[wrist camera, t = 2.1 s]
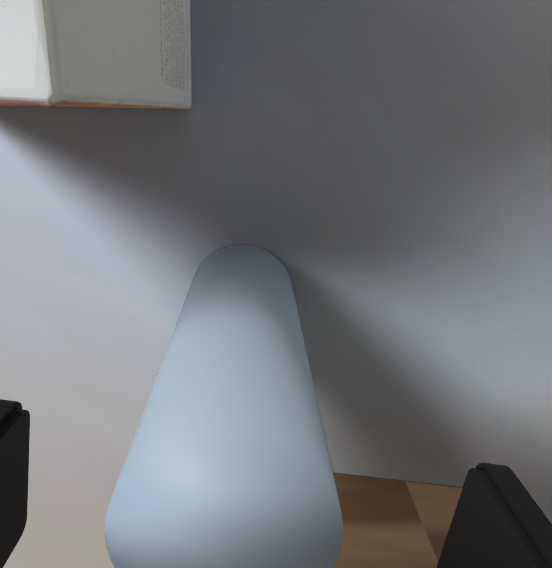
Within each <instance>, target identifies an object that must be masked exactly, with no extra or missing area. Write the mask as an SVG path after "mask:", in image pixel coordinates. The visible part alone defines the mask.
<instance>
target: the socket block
mask: <svg viewBox="0 0 552 568" xmlns="http://www.w3.org/2000/svg"><path fill="white" fill-rule="evenodd" d="M333 476H334V480H335V485H336V490H337V494H338V499H339V503H340V508H341V513H342V520H343V538H342V543H341V548H340V551H339V554H338V556H337V559H336V561H335V563H334V565H333V567H332V568H437V564H438V561H439V558H440V555H441V552H442V549H443V546H444V543H445V540H446V537H447V534H448V531H449V528H450V525H451V522H452V519H453V516H454V513H455V510H456V507H457V503H458V500H459V497H460V494H461V491H462V488H459V487H450V486H442V485H433V484H424V483H415V482H407V481H398V480H389V479H380V478H371V477H363V476H354V475H345V474H336V473H333Z"/></svg>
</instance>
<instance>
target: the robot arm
mask: <svg viewBox="0 0 552 568" xmlns="http://www.w3.org/2000/svg"><path fill="white" fill-rule="evenodd" d="M29 430H30V414H29V411H27V410H22V406H21V403H19V402H16V401H8V400H1V399H0V568H3V566H4V565H5V563H6V561H7V560H8V558H9V556H10V554H11V553H12V551H13V549H14V548H15V546H16V544H17V543H18V541H19V539H20V538H21V536H22V533H23V531H24V528H25V525H26V520H27V498H28V464H29ZM437 568H552V524H551V523H550V521H549V520H548V519H547V517H546V516H545V515H544V513H543V512H542V510H541V509H540V508H539V506H538V505H537V504H536V502H535V501H534V500H533V498H532V497H531V496H530V494H529V493H528V491H527V490H526V489H525V487H524V486H523V485H522V483H521V482H520V481H519V479H518V478H517V477H516V475H515V474H514V472H513V471H512V470H511V469H510V468H509V467H507V466H504V465H496V464H488V463H479V464H478V465H477V466H476V468H475V469H474V468H473V469H470V470H469V472H468V474H467V476H466V479H465V482H464V485H463V488H462V491H461V494H460V497H459V500H458V503H457V507H456V510H455V513H454V516H453V519H452V522H451V525H450V528H449V531H448V534H447V537H446V540H445V543H444V546H443V549H442V552H441V555H440V558H439V561H438V564H437Z"/></svg>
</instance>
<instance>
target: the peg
mask: <svg viewBox="0 0 552 568" xmlns="http://www.w3.org/2000/svg"><path fill="white" fill-rule="evenodd" d="M342 538H343V520H342V513H341V508H340V503H339V499H338V494H337V490H336V485H335V480H334V476H333V471H332V467H331V462H330V457H329V453H328V448H327V444H326V439H325V434H324V430H323V425H322V421H321V416H320V411H319V407H318V402H317V398H316V393H315V388H314V384H313V379H312V375H311V370H310V365H309V361H308V356H307V352H306V347H305V342H304V338H303V333H302V329H301V324H300V319H299V315H298V310H297V306H296V301H295V296H294V292H293V287H292V283H291V279H290V276H289V274H288V272H287V270H286V268H285V267H284V265H283V264H282V263H281V262H280V260H279V259H278V258H276V257H275V256H274V255H273V254H271V253H270V252H268V251H266V250H264V249H262V248H259V247H256V246H252V245H244V244H242V245H232V246H227V247H224V248H221V249H219V250H217V251H215V252H214V253H212V254H211V255H210V256H208V257H207V258H206V259H205V260H204V261H203V262H202V263H201V265H200V266H199V268H198V269H197V271H196V273H195V276H194V278H193V281H192V284H191V286H190V289H189V292H188V294H187V297H186V300H185V302H184V305H183V308H182V311H181V313H180V316H179V319H178V321H177V324H176V327H175V329H174V332H173V335H172V337H171V340H170V343H169V345H168V348H167V351H166V353H165V356H164V359H163V361H162V364H161V367H160V369H159V372H158V375H157V378H156V380H155V383H154V386H153V388H152V391H151V394H150V396H149V399H148V402H147V404H146V407H145V410H144V412H143V415H142V418H141V420H140V423H139V426H138V428H137V431H136V434H135V437H134V439H133V442H132V445H131V447H130V450H129V453H128V455H127V458H126V461H125V463H124V466H123V469H122V471H121V474H120V477H119V479H118V482H117V485H116V487H115V490H114V493H113V495H112V498H111V501H110V504H109V507H108V510H107V514H106V520H105V540H106V545H107V550H108V553H109V556H110V558H111V561H112V563H113V565H114V566H115V568H332V567H333V565H334V563H335V561H336V559H337V556H338V554H339V551H340V548H341V543H342Z"/></svg>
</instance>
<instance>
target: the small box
mask: <svg viewBox="0 0 552 568" xmlns="http://www.w3.org/2000/svg"><path fill="white" fill-rule="evenodd" d="M6 106H37V107H42V106H66V107H114V108H168V109H190V107H191V106H192V92H191V34H190V0H0V107H6Z"/></svg>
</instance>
